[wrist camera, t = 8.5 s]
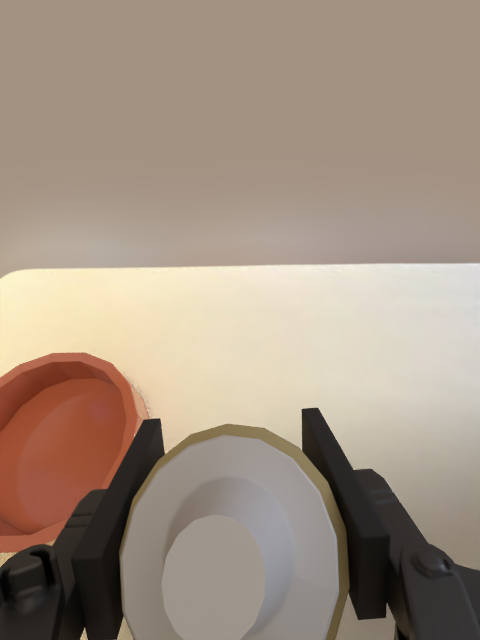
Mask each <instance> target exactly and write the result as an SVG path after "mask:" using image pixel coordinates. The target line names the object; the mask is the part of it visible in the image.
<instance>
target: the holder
mask: <svg viewBox="0 0 480 640" xmlns="http://www.w3.org/2000/svg"><path fill="white" fill-rule="evenodd" d="M145 419H149V416H148V412H147V410H146V407H145V405H144V402H143V399H142V397H141V396H140V395H139V394H138V393H137V392H136V390H135V389H134V388H133V387H132V386H131V384H130V383H129V382H128V381H127V380H126V379H125V378H124V377H123V375H122V374H121V373H120V372H119V371H118V370H117V369H116V367H115V366H114V365H113V364H111V363H110V362H107V361H105V360H102V359H100V358H97V357H95V356H92V355H90V354H87V353H52V354H49V355H46V356H43V357H40V358H38V359H35V360H32V361H29V362H26V363H23V364H20V365H18V366H17V367H15V368H14V369H12V370H11V371H9V372H8V373H6V374H5V375H4V376H2V377H1V378H0V553H9V552H20V551H21V550H24V549H26V548H28V547H30V546H33V545H39V544H46V545H51V546H52V545H53V544H54V542H55V540H56V539H57V537H58V535H59V534H60V532H61V531H62V529H64V526H65V524H66V522H67V521H68V519H69V517H71V514H72V513H73V511H74V509H75V508H76V506H77V504H78V503H79V501H80V500H81V499H82V498H84V497H85V496H86V495H87V494H88V493H89V492H90V491H91V490H95V489H108V487H109V485H110V483H111V481H112V479H113V477H114V475H115V473H116V471H117V470H118V468H119V466H120V464H121V462H122V460H123V458H124V456H125V454H126V452H127V450H128V449H129V447H130V445H131V443H132V441H133V439H134V437H135V435H136V433H137V431H138V429H139V428H140V426H141V424H142V422H143V420H145Z"/></svg>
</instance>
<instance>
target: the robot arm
mask: <svg viewBox="0 0 480 640" xmlns="http://www.w3.org/2000/svg"><path fill="white" fill-rule="evenodd" d="M302 452H303V453H304V454H305V455H306V456H307V458H308V459H309V460H310V461H311V462H312V464H313V465H314V466H315V467H316V468H317V470H318V471H319V472H320V473H321V474H322V475H323V477H324V478H325V479H326V480H327V481H328V484H329V486H330V489H331V491H332V494H333V496H334V499H335V502H336V504H337V507H338V509H339V512H340V514H341V517H342V520H343V522H344V525H345V527H346V532H347V549H348V567H349V584H350V587H349V591H348V592H349V595H350V598H351V601H352V604H353V607H354V609H355V612H356V615H357V618H358V620H365V619H377V618H386V605H387V603H388V606H389V608H390V610H391V612H392V615H393V617H394V619H395V635H394V640H480V571H479V570H474V569H470V568H466V567H463V566H460V565H457V564H455V563H454V562H453V560H452V559H451V558H450V557H449V556H448V555H447V554H446V553H445V552H443V551H442V550H440V549H438V548H437V547H435V546H434V545H431V544H429V543H428V542H427V541H426V540H425V538H424V537H423V535H422V534H421V532H420V531H419V529H418V528H417V526H416V525H415V523H414V522H413V520H412V519H411V518H410V516H409V515H408V513H407V512H406V510H405V509H404V507H403V506H402V504H401V503H399V500H398V499H397V497H396V496H395V494H394V493H392V490H391V488H390V487H389V485H388V484H387V482H386V481H385V480H384V478H383V477H381V476H380V475H379V474H377V473H376V472H375V471H374V470H372V469H361V470H353V468H352V467H351V465H350V463H349V461H348V460H347V458H346V456H345V454H344V453H343V451H342V449H341V447H340V445H339V444H338V442H337V440H336V438H335V437H334V435H333V433H332V431H331V430H330V428H329V426H328V424H327V423H326V421H325V419H324V417H323V416H322V414H321V412H320V410H319V409H318V408H308V409H302ZM164 455H165V453H164V445H163V437H162V429H161V421H160V419H145V420H143V422H142V424H141V426H140V428H139V429H138V431H137V433H136V435H135V437H134V439H133V441H132V443H131V445H130V447H129V449H128V450H127V452H126V454H125V456H124V458H123V460H122V462H121V464H120V466H119V468H118V470H117V471H116V473H115V475H114V477H113V479H112V481H111V483H110V485H109V487H108V489H95V490H91V491H90V492H89V493H88V494H87V495H86V496H85V497H84V498H82V499H81V500H80V501H79V503H78V504H77V506H76V508H75V509H74V511H73V513H72V514H71V517H69V519H68V521H67V522H66V524H65V526H64V529H62V531H61V532H60V534H59V535H58V537H57V539H56V540H55V542H54V544H53V545H52V546H51V545H46V544H39V545H33V546H30V547H28V548H26V549H24V550H21V551H20V552H18V553H17V554H15V555H14V556H12V557H11V558H10V559H8V560H7V561H6V562H5V563H4V564H3V565H2V566H1V567H0V640H80V638H81V635H82V632H83V630H84V627H85V629H86V634H87V638H88V640H116V639H117V637H118V633H119V630H120V627H121V623H122V620H123V617H124V615H123V611H122V598H121V580H120V561H119V549H120V546H121V542H122V538H123V534H124V531H125V527H126V523H127V519H128V516H129V512H130V508H131V504H132V500H133V498H134V497H135V495H136V494H137V492H138V491H139V489H140V488H141V486H142V484H143V483H144V481H145V480H146V478H147V477H148V475H149V474H150V472H151V470H152V469H153V467H154V466H155V464H156V463H157V461H158V460H159V459H160V458H161V457H163V456H164Z"/></svg>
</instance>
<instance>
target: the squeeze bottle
mask: <svg viewBox="0 0 480 640" xmlns="http://www.w3.org/2000/svg"><path fill="white" fill-rule="evenodd" d="M119 561H120V580H121V598H122V611H123V615H124V617H125V620H126V622H127V624H128V627H129V629H130V631H131V634H132V636H133V639H134V640H335V637H336V634H337V630H338V627H339V623H340V620H341V616H342V612H343V609H344V605H345V602H346V598H347V595H348V591H349V587H350V584H349V567H348V549H347V532H346V527H345V525H344V522H343V520H342V517H341V514H340V512H339V509H338V507H337V504H336V502H335V499H334V496H333V494H332V491H331V489H330V486H329V484H328V481H327V480H326V479H325V478H324V477H323V475H322V474H321V473H320V472H319V471H318V470H317V468H316V467H315V466H314V465H313V464H312V462H311V461H310V460H309V459H308V458H307V456H306V455H305V454H304V453H303V452H302V451H301V449H300V448H299V447H297V446H295V445H294V444H292V443H290V442H288V441H286V440H285V439H283V438H281V437H279V436H277V435H276V434H274V433H272V432H270V431H269V430H267V429H265V428H259V427H250V426H241V425H233V424H225V425H222V426H218V427H215V428H212V429H208V430H205V431H201V432H198V433H194V434H191V435H190V436H188V437H187V438H186V439H185V440H183V441H182V442H181V443H179V444H178V445H177V446H176V447H174V448H173V449H172V450H170V451H169V452H168V453H167V454H165V455H164V456H163V457H161V458H160V459H159V460H158V461H157V463H156V464H155V466H154V467H153V469H152V470H151V472H150V474H149V475H148V477H147V478H146V480H145V481H144V483H143V484H142V486H141V488H140V489H139V491H138V492H137V494H136V495H135V497H134V498H133V500H132V504H131V508H130V512H129V516H128V519H127V523H126V527H125V531H124V534H123V538H122V542H121V546H120V549H119Z"/></svg>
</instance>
